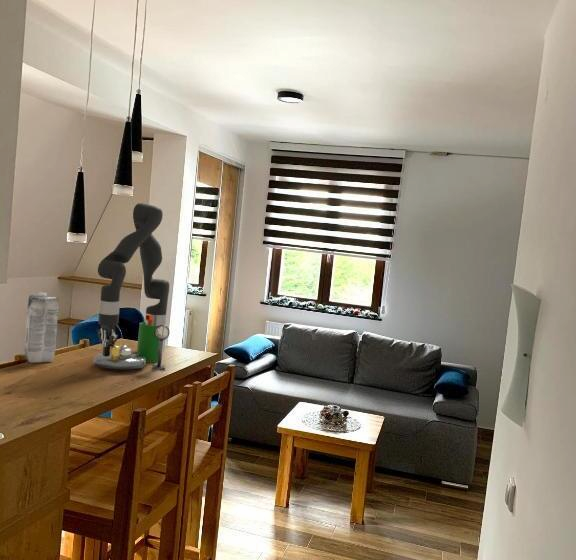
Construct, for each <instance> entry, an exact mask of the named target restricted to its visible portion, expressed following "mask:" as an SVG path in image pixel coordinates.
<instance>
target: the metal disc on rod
mask: <svg viewBox="0 0 576 560" xmlns="http://www.w3.org/2000/svg"><path fill="white" fill-rule="evenodd" d="M170 332H171V331H170V328H169V327H168V326H167V325H166V324H165V325H159V326H157V327H156V328H155V331H154V334H155V337H156V338H157V339H159V349H158V360H157V362H156V364H152V369H151V370H154V371H166V365H165V364H162V359H163V358H162V357H163V351H162V349H163V340H165V341H166V340H167V339H168V338H169V336H170Z"/></svg>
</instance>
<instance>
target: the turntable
mask: <svg viewBox="0 0 576 560" xmlns="http://www.w3.org/2000/svg"><path fill="white" fill-rule="evenodd" d="M119 348H120V346H119V345H114V346H111V347H110V356H107V357H105V356H103V352H101V353H96V354H95V355H94V356H93V365H95V366H98V367H100V368H106V369H108V368H111V369H110V370H112V369H130V370H134V369H135V370H137V369H140V368H143V367H145V366H146V363H147V362H146V358H145V357H143V356H141V355H137V353H132V354H131V359H119Z"/></svg>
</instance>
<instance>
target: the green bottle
mask: <svg viewBox="0 0 576 560" xmlns="http://www.w3.org/2000/svg"><path fill="white" fill-rule="evenodd" d="M145 317H146V319H145V318H144V319H145V320H148V325H146V322H145V321H142V322H139V328H138V337H137V348H136V349H137V350H136V354H137V355H141V356H143V357H145V358H146V362H145V363H157V360H158V349H159V339H157V338H156V337H155V334H154V331H155V328H156V327H157V326H154V325H153V315H150V314H147V315H146V314H145Z"/></svg>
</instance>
